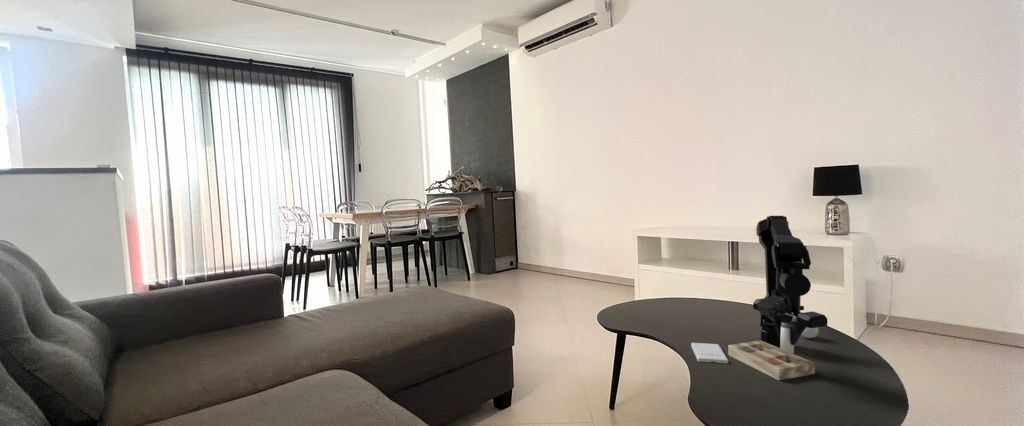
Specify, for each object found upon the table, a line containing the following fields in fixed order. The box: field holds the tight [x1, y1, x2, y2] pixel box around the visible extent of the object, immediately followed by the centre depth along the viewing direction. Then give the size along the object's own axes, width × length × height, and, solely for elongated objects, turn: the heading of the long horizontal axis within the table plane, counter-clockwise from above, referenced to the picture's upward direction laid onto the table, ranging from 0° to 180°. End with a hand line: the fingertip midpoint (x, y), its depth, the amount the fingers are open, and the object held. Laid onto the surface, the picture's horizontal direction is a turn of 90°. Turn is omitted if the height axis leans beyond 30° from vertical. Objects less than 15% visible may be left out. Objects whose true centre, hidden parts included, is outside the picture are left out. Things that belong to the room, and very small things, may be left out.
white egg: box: [801, 327, 820, 339], centre depth 146 cm, size 8×6×6 cm
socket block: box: [727, 339, 816, 381], centre depth 126 cm, size 12×18×3 cm, turn 15°
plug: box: [780, 321, 795, 354], centre depth 121 cm, size 3×3×8 cm
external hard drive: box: [690, 342, 729, 364], centre depth 134 cm, size 2×8×12 cm
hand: (787, 342), depth 121 cm, fingers closed on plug, 3 cm apart
